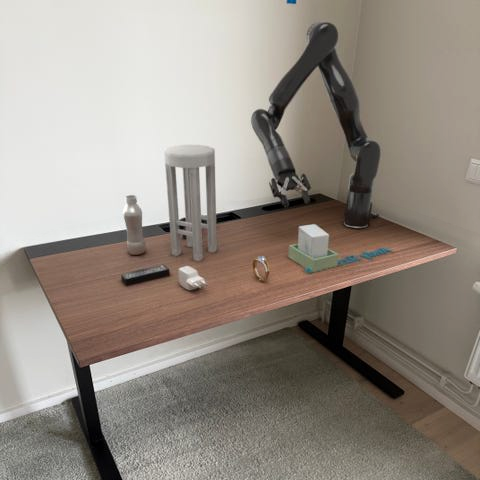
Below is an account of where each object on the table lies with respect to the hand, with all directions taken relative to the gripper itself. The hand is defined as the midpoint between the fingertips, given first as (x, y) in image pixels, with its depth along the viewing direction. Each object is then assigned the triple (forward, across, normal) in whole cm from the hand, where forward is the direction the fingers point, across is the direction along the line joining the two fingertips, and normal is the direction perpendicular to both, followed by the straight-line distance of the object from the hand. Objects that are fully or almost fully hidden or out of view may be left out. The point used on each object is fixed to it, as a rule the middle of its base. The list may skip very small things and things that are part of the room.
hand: (297, 204), depth 161 cm
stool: (+1, -32, +22) cm, 39 cm away
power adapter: (+20, -44, +4) cm, 49 cm away
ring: (+22, -24, +1) cm, 33 cm away
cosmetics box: (+19, -1, +4) cm, 19 cm away
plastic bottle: (-5, -50, +29) cm, 58 cm away
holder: (+20, 0, +4) cm, 20 cm away
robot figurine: (-14, -23, +37) cm, 46 cm away
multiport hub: (+9, -54, +14) cm, 57 cm away
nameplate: (+24, +11, 0) cm, 26 cm away
